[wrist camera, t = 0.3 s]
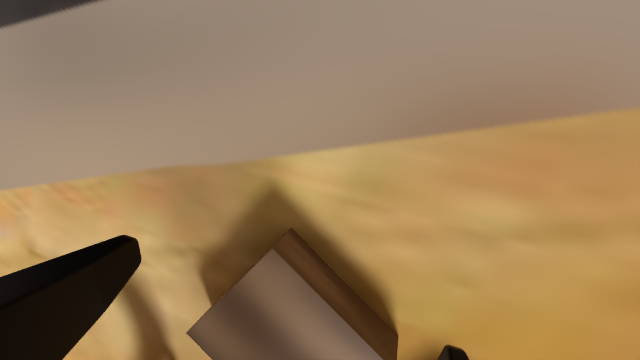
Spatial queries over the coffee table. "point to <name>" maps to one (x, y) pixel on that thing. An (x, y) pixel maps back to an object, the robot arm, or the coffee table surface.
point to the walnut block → (293, 313)
